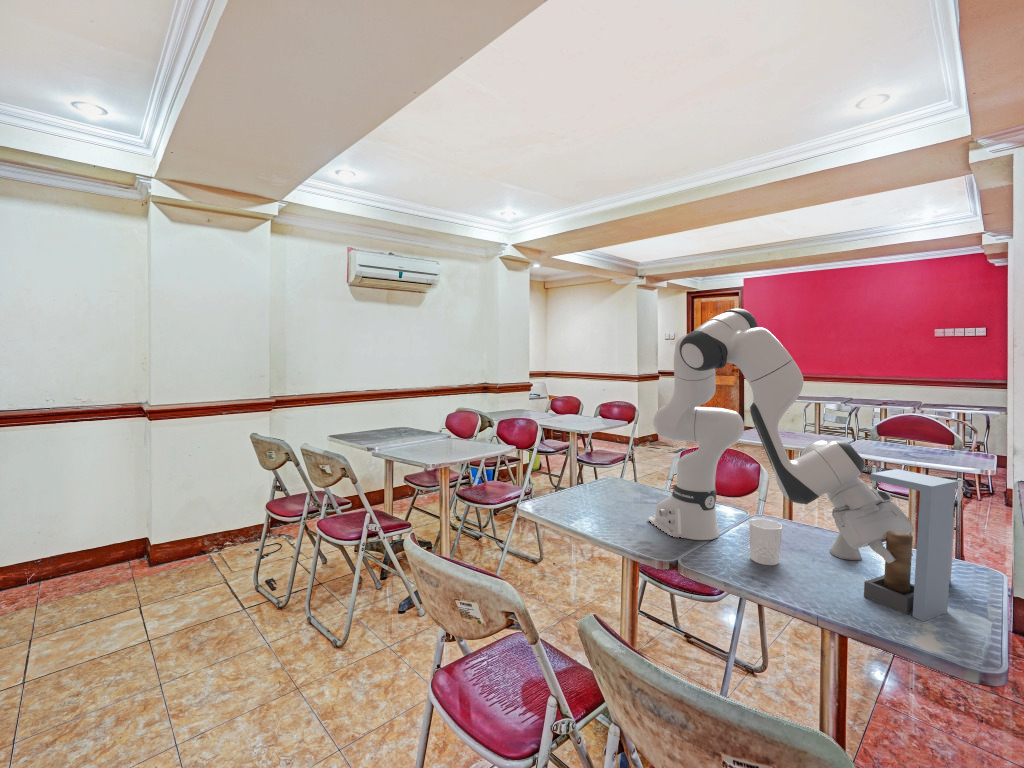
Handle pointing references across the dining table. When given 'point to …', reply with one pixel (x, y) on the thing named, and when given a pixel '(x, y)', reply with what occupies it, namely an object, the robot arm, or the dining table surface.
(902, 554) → the peg
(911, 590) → the socket
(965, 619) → the dining table surface
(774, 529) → the white cup
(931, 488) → the awning
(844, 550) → the flask
